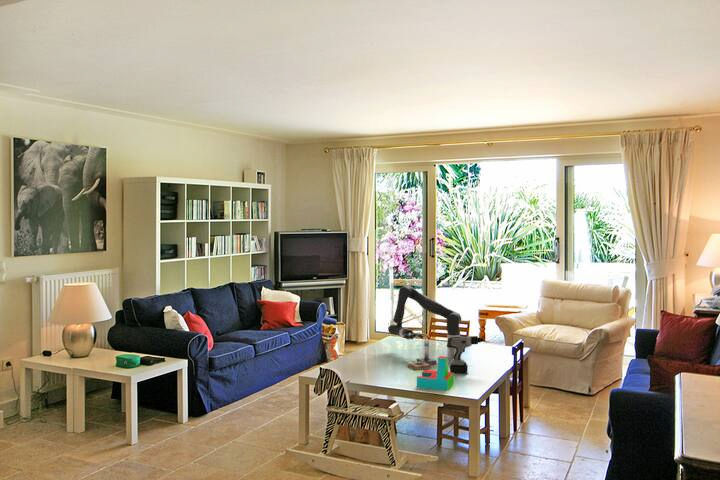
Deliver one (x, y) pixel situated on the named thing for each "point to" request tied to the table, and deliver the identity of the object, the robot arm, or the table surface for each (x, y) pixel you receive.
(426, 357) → the clear test tube
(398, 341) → the table surface
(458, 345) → the cordless drill
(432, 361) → the grey flat square frame
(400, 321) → the robot arm
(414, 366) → the rack block
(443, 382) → the building blocks toy
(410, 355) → the table surface
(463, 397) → the table surface
